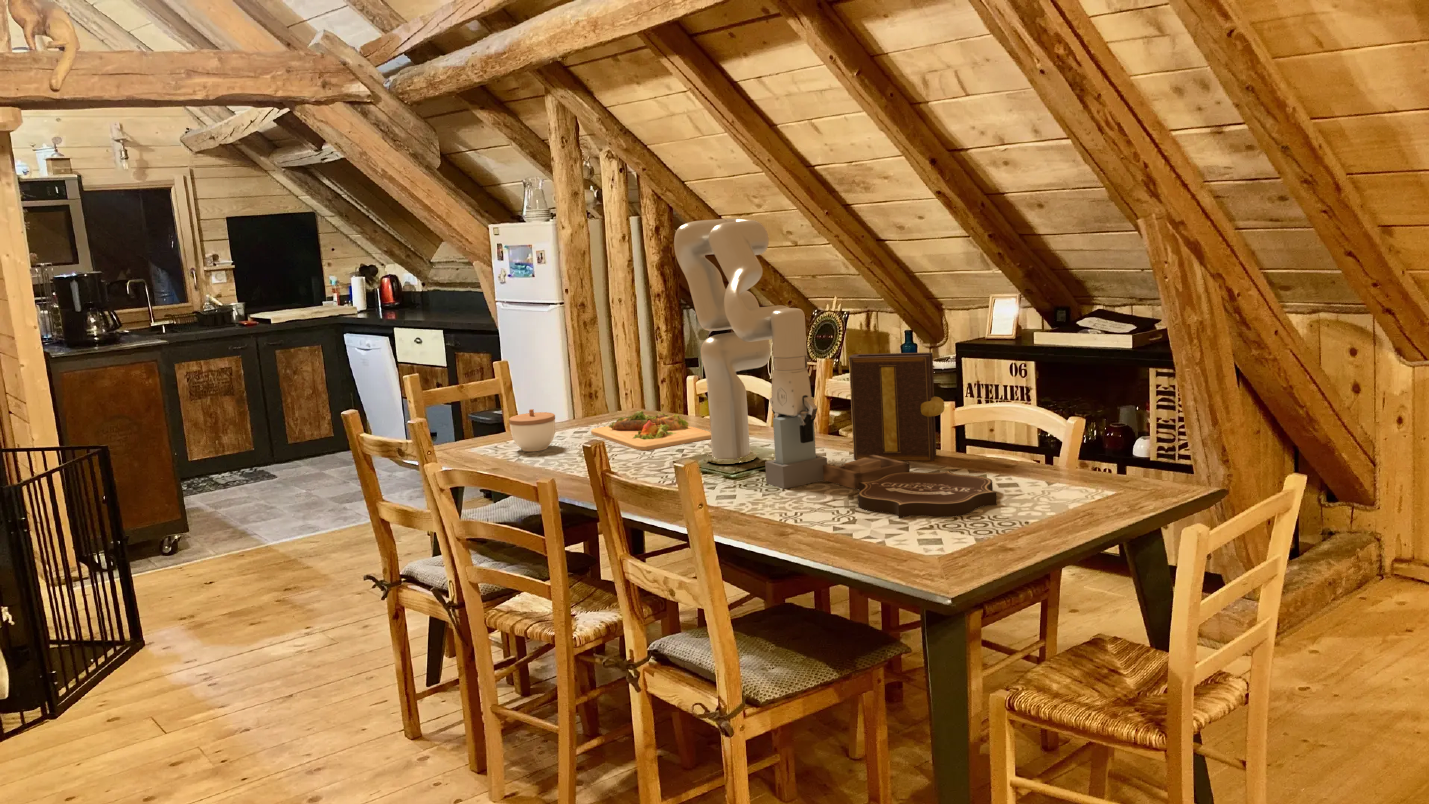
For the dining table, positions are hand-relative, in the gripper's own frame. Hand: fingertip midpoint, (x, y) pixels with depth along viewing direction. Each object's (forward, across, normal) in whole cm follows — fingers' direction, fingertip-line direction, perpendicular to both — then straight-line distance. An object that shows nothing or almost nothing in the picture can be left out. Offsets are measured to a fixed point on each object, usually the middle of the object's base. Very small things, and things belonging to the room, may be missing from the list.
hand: (794, 439), depth 262 cm
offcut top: (+8, +9, +12) cm, 17 cm away
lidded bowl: (+10, -84, -30) cm, 90 cm away
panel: (+9, 0, 0) cm, 9 cm away
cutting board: (+11, -76, +2) cm, 76 cm away
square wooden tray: (+10, +10, +12) cm, 18 cm away
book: (+10, -2, +31) cm, 33 cm away
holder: (+10, 0, 0) cm, 10 cm away
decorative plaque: (+10, +32, +10) cm, 36 cm away
